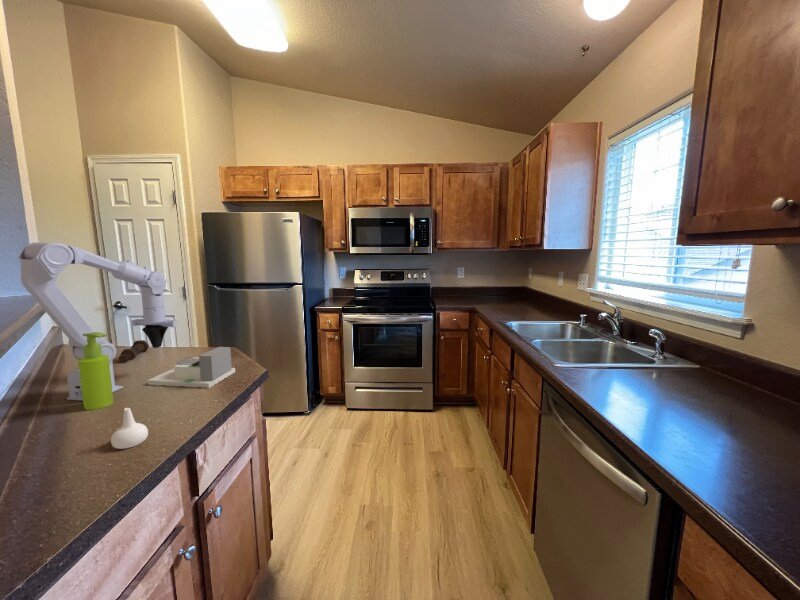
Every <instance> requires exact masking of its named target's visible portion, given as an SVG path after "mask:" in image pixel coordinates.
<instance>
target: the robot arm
mask: <svg viewBox="0 0 800 600" xmlns="http://www.w3.org/2000/svg"><path fill="white" fill-rule="evenodd" d="M17 258H18V260H19V263H20V281H21V284H22V286H23V288H25V289H26V291H27V292H28V293H29V294H30V295H31V296H32V297H33V299H34V300H35V301H36V302H37V303H38V305H39V306H40V307H41V308H42V309H43V311H44V312H45V313H46V314H47V315H48V317H50V319H51V320H52V321H53V322H54V323H55V324H56V326H57V327H58V328H59V329H60V330H61V332H62V333H64V336H65V337H67V339H68V345H69V346H70V348H71V355H72V356H73V357H74V359H76V360H80V359H82V358H85V356H84V348H83V347H84V346H86V345H87V336H83V334H86V333H90V332H95V331H94V330H93V328H92V327H91V326H90V325H89V324H88V322H87V321H86V320H85V319H84V317H83V316H82V315H81V314H80V311H78V310H77V309H76V307H75V306H74V304H73V303H72V302H71V301H70V300H69V298H68V297H67V295H65V293H64V292H63V290H62V289H61V288H60V287H59V286H58V284H56V280H57V279H58V277H59V276H60V273H62V271H64V270H65V269H66V268H67V267H68V266H69V265H77V264H78V265H79V264H81V265H85V266H88V267H90V268H91V267H92V268H95V269H99V270H102V271H105V272H109V273H111V274H112V276H113V278H114V279H117V280H120V281H123V282H126V283H131V284H134V285H136V286H137V287H139V288H140V293H141V303H142V315H143V316H142V317H143V318H136V319H132V320H131V322H132V323H131V324H132V327H137V326H143V327H142V332H143V333H144V334H145V335H146V336H147V338H148V340H149V342H150V344H151V346H152V348H153V349H158V348H161V347H162V345H163V340H164V337H165V334H166V332H167V330H168V329H169V328H175V327H178V326H179V322H178V320H174V319H167V318H166V313H165V312H166V311H165V310H166V309H165V300H164V289H165V287H166V285H167V281H168V280H167V279H166V278H165V276H164V274H163V273H162V272H161V271H160V272H159V271H155V270H153V271H152V270H150V267H147V266H144V267H143V266H140V265H137V264H134V261H132V260H120V261H118V262H116V261H113V260H111V259H109V258H105V257H103V256H101V255H98V254H95V253H92V252H90V251H87V250H85V249H82V248H80V247H76V246H72V245H66V244H64V243H62V242H57V241H56V242H55V241H54V242H38V241H37V242H36V241H35V242H30V243H28V244H26V245H25V246H24V247H23V248H22V250H21V252H20V253H19V254H18V257H17ZM96 343H98V344H101V350H102V355H107V356H109V365H110V374H111V383H112V392H113V393H114V392H117V391H119V390H121V389H123V388H124V386H123V385H116V383H115V374H114V372H115V371H114V364H113V363H114V362H113V359H115V357H116V355H117V348H116V346H115V345H114V344H113V343H111V342H109V341H107V340H106V339H105V338H104V337H100V338H97V337H96ZM77 365H78V366H77V368H75V369H74V370H72V371H71V372H69V373H68V375H67V378H66V379H67V389H68V396H69V397H66V399H67V400H69V401H83V396H82V388H81V380H80V371H79V363H78V364H77Z"/></svg>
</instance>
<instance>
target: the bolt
mask: <svg viewBox="0 0 800 600" xmlns="http://www.w3.org/2000/svg"><path fill="white" fill-rule="evenodd" d="M149 348H150V345H149V343H148V342H147V341H146V340H145V339H143V340H141V339H139V340H135V341H134V342H133V344H132V345H131V347H130V348H124V349H122V351H121V353H120V355H119V356H118V361H119V362H121V363H126V362H128V361H133V360H135V359H136V357H137V355H138V354H139V353H140V354H141V353H142V354H143V353H146V352H147V351H148V349H149Z"/></svg>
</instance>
